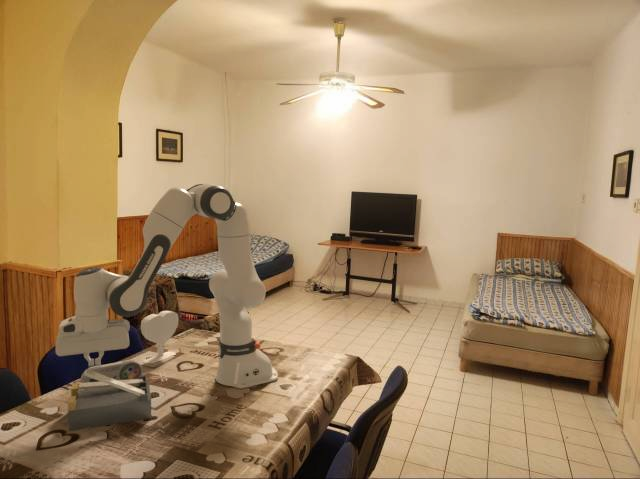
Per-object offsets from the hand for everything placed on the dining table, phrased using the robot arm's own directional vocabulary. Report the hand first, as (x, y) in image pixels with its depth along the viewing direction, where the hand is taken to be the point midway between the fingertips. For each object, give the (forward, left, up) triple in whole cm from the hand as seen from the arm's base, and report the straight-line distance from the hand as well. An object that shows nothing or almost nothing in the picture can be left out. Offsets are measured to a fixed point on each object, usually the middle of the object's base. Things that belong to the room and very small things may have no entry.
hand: (94, 365), depth 145 cm
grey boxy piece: (-5, +5, -14) cm, 16 cm away
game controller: (-4, -15, -15) cm, 22 cm away
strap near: (-6, +9, -4) cm, 11 cm away
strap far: (-5, 0, -8) cm, 9 cm away
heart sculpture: (-22, -37, -15) cm, 46 cm away
